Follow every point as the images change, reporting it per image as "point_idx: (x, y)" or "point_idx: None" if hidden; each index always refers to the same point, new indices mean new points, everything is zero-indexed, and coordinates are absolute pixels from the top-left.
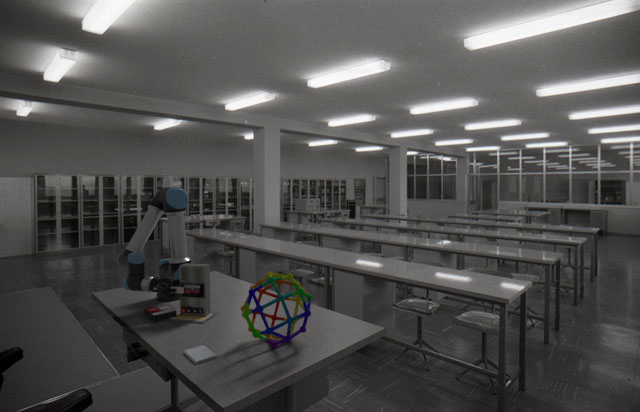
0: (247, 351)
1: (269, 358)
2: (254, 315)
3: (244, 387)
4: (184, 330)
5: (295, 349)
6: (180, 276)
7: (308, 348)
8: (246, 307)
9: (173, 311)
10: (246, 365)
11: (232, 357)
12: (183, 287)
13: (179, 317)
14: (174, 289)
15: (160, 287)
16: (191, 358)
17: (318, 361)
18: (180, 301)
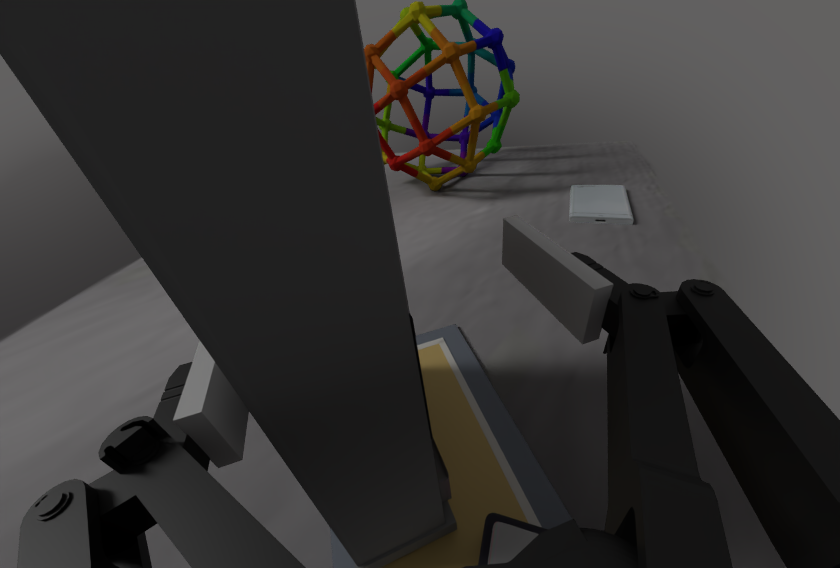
0: (506, 184)
1: (498, 166)
2: (440, 148)
3: (584, 148)
4: (558, 324)
5: (445, 166)
6: (394, 237)
7: (430, 162)
8: (509, 79)
9: (512, 525)
10: (543, 166)
11: (544, 182)
12: (506, 218)
13: (486, 484)
14: (583, 256)
15: (792, 373)
16: (627, 197)
17: (459, 149)
18: (436, 474)
